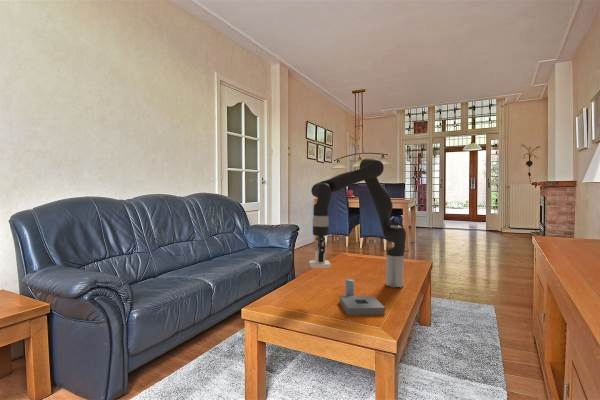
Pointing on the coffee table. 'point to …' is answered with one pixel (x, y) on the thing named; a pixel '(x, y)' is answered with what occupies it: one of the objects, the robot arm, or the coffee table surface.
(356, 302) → the socket plate
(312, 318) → the coffee table surface
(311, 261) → the lid
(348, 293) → the peg
